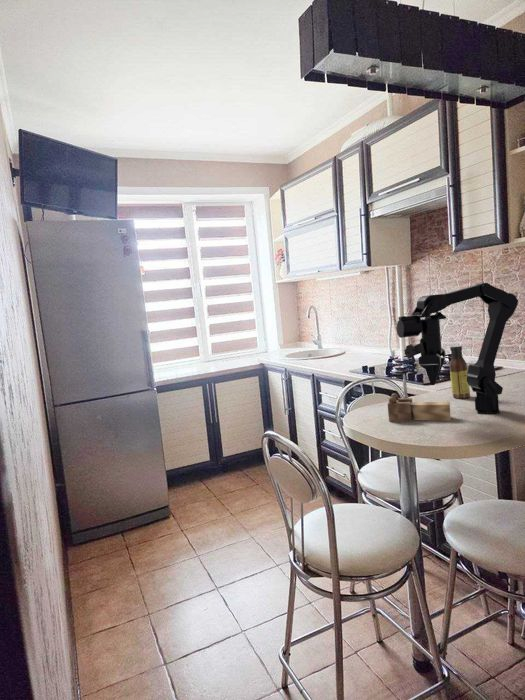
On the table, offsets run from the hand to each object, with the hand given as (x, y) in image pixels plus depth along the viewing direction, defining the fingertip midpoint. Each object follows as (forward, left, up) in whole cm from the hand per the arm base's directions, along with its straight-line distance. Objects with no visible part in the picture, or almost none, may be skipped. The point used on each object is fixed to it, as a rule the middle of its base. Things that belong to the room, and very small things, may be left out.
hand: (434, 382), depth 141 cm
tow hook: (+12, -16, -12) cm, 23 cm away
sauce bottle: (-7, -31, -12) cm, 34 cm away
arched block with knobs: (+11, 0, -12) cm, 16 cm away
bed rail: (+3, 0, -12) cm, 12 cm away
